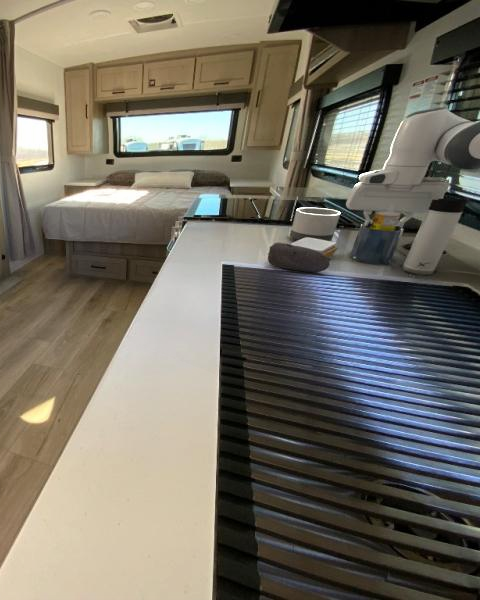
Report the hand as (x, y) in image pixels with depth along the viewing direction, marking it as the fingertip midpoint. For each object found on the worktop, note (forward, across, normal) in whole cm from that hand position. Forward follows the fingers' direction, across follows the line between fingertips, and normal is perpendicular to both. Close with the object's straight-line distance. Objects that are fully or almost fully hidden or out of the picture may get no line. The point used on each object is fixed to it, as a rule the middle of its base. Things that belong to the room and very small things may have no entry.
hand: (382, 226), depth 96 cm
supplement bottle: (+4, 0, 0) cm, 4 cm away
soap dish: (+10, +16, +6) cm, 20 cm away
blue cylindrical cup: (+10, 0, 0) cm, 10 cm away
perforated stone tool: (+10, +21, +18) cm, 30 cm away
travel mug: (+10, -9, +7) cm, 15 cm away
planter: (+10, +14, -16) cm, 24 cm away
